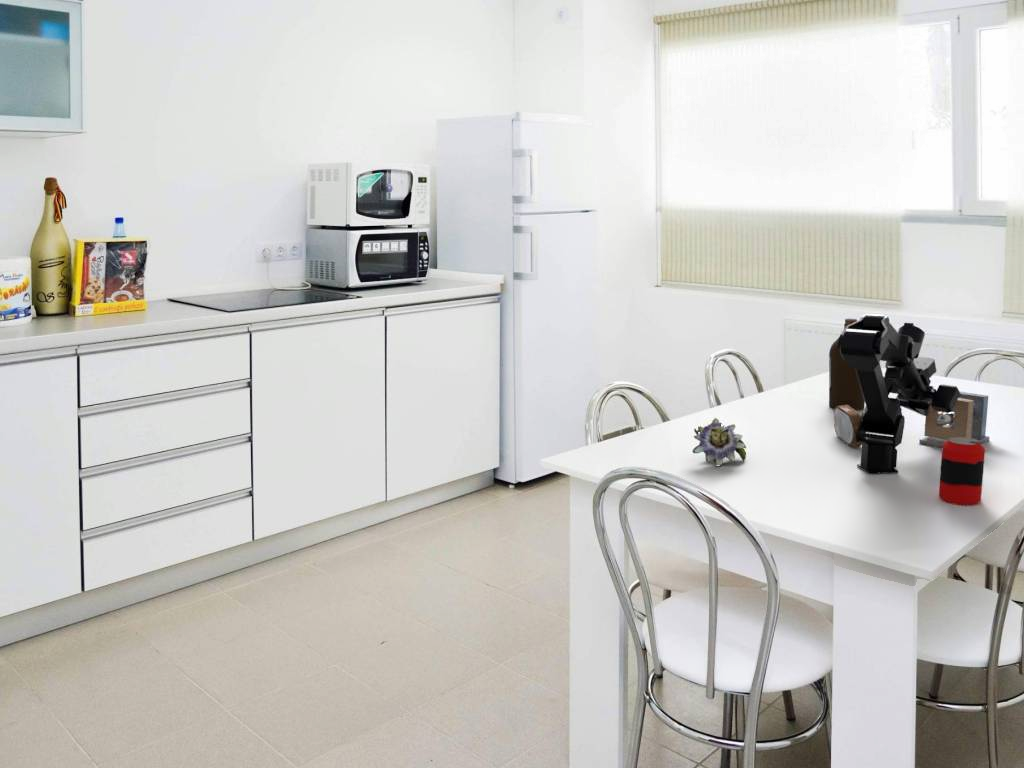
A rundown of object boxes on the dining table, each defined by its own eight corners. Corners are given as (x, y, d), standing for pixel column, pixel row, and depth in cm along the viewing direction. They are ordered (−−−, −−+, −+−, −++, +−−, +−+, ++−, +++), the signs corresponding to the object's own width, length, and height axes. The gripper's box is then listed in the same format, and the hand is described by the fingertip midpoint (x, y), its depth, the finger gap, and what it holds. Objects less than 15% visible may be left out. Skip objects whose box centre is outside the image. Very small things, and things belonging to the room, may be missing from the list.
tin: (864, 449, 225) (866, 415, 223) (850, 450, 225) (852, 415, 223) (843, 434, 239) (845, 401, 238) (830, 434, 239) (832, 401, 238)
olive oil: (871, 406, 269) (876, 318, 264) (858, 413, 261) (863, 322, 256) (834, 401, 276) (838, 315, 271) (820, 408, 268) (825, 320, 263)
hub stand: (960, 451, 221) (963, 405, 219) (919, 443, 229) (922, 398, 227) (989, 440, 230) (992, 396, 228) (948, 433, 238) (951, 390, 236)
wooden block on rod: (965, 443, 222) (968, 401, 220) (924, 435, 230) (927, 395, 228) (970, 441, 224) (973, 400, 222) (929, 434, 232) (932, 393, 230)
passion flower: (718, 489, 214) (691, 451, 210) (704, 467, 224) (678, 430, 220) (760, 461, 213) (734, 422, 209) (744, 441, 223) (719, 403, 219)
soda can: (974, 508, 182) (978, 448, 180) (933, 500, 187) (937, 441, 185) (985, 498, 188) (990, 439, 185) (945, 491, 193) (949, 434, 190)
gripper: (959, 352, 212) (978, 393, 221) (881, 342, 226) (903, 382, 235) (939, 391, 208) (960, 431, 217) (861, 380, 223) (884, 418, 232)
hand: (926, 414), depth 225 cm, fingers closed
